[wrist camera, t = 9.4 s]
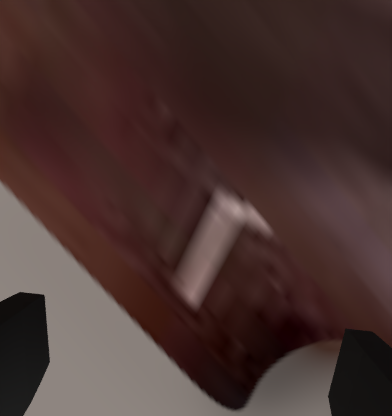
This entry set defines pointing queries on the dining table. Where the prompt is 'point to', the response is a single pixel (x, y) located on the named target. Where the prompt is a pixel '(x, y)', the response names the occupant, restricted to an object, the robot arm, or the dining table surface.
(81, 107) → the dining table surface
